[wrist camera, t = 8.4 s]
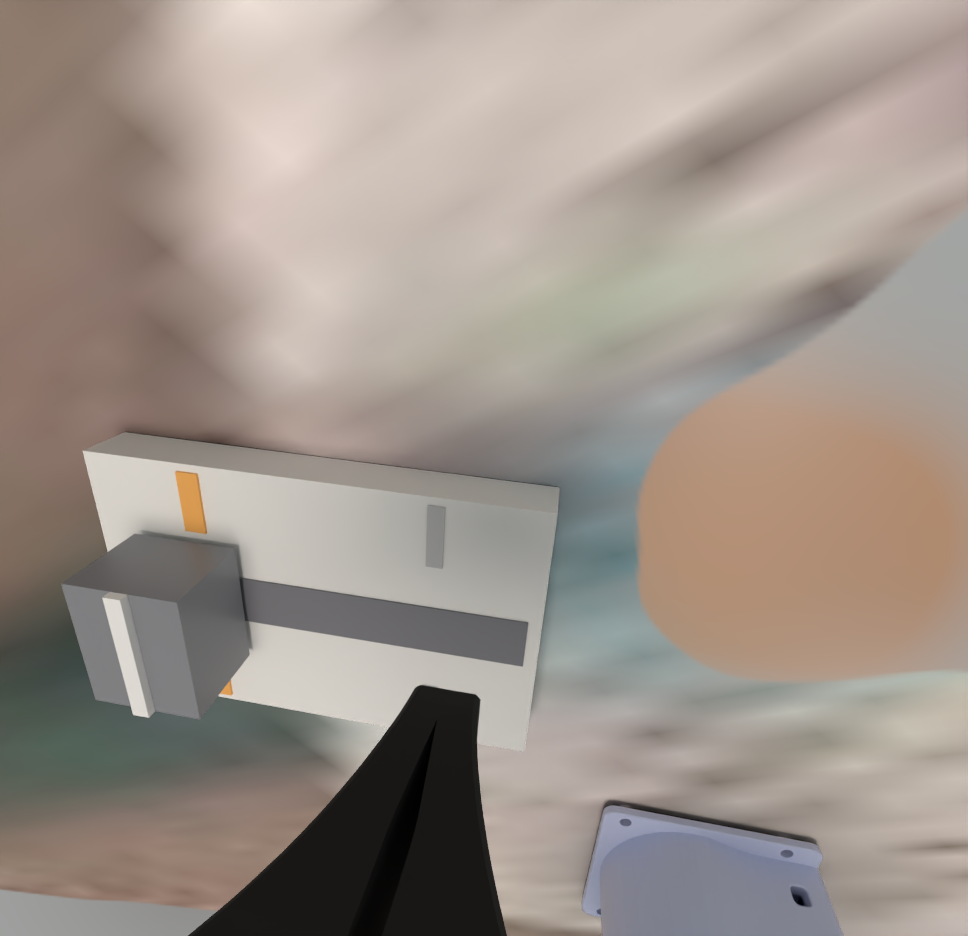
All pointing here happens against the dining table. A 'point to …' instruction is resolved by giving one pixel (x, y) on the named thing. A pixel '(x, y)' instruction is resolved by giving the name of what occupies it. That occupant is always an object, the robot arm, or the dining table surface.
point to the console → (353, 572)
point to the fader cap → (160, 624)
